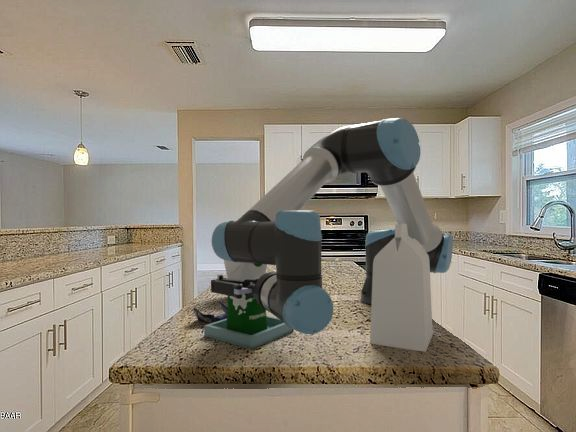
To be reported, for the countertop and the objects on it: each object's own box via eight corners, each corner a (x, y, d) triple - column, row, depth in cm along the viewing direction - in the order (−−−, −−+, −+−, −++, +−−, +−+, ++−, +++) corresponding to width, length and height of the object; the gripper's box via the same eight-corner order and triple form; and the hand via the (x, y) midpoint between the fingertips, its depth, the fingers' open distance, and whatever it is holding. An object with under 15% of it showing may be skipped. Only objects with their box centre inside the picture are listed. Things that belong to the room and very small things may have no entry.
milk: (383, 328, 93) (382, 223, 93) (432, 334, 88) (431, 223, 88) (370, 343, 83) (368, 224, 83) (425, 351, 77) (424, 224, 77)
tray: (293, 331, 92) (293, 320, 92) (251, 349, 80) (251, 337, 80) (248, 321, 101) (248, 311, 101) (204, 336, 89) (204, 325, 89)
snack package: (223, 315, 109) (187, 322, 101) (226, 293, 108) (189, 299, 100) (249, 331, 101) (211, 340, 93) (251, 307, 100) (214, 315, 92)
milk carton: (246, 340, 84) (245, 250, 84) (220, 332, 90) (219, 248, 90) (273, 330, 91) (272, 247, 91) (246, 323, 96) (245, 245, 96)
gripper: (212, 321, 67) (194, 297, 86) (336, 306, 76) (294, 288, 96) (212, 278, 67) (193, 264, 86) (335, 269, 76) (294, 258, 96)
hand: (246, 277), depth 91 cm, fingers open, 13 cm apart
